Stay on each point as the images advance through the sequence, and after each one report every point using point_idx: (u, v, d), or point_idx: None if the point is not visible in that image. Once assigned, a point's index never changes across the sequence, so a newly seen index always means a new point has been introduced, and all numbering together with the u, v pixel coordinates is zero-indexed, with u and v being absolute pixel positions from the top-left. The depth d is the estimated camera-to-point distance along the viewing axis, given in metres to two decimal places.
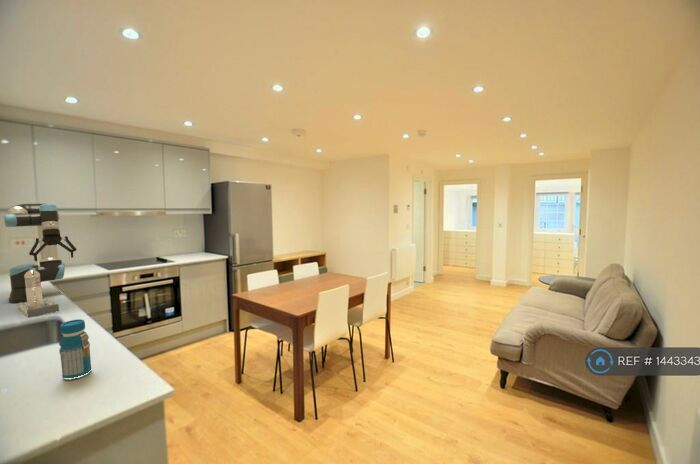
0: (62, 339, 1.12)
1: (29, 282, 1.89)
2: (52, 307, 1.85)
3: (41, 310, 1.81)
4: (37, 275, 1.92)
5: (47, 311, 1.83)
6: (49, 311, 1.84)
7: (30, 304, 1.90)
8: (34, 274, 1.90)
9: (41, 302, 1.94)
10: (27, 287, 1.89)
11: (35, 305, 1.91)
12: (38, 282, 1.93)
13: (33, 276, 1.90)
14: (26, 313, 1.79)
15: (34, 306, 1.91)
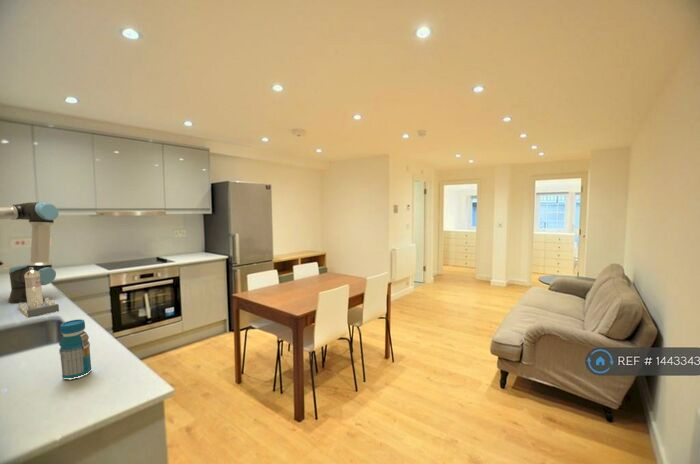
0: (62, 339, 1.12)
1: (29, 282, 1.89)
2: (52, 307, 1.85)
3: (41, 310, 1.81)
4: (37, 275, 1.92)
5: (47, 311, 1.83)
6: (49, 311, 1.84)
7: (30, 304, 1.90)
8: (34, 274, 1.90)
9: (41, 302, 1.94)
10: (27, 287, 1.89)
11: (35, 305, 1.91)
12: (38, 282, 1.93)
13: (33, 276, 1.90)
14: (26, 313, 1.79)
15: (34, 306, 1.91)
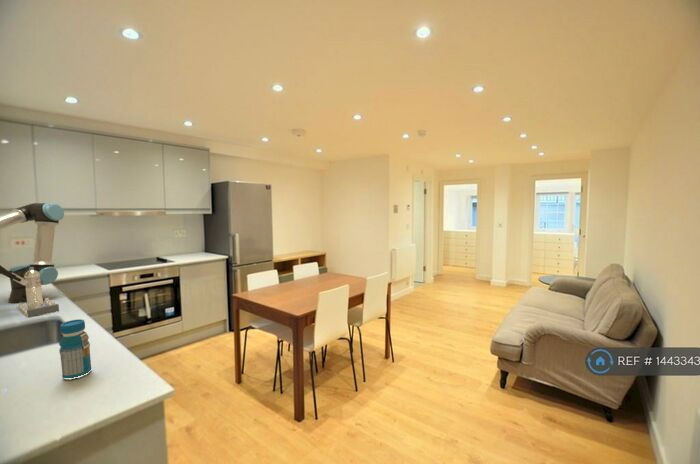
0: (62, 339, 1.12)
1: (29, 282, 1.89)
2: (52, 307, 1.85)
3: (41, 310, 1.81)
4: (37, 275, 1.92)
5: (47, 311, 1.83)
6: (49, 311, 1.84)
7: (30, 304, 1.90)
8: (34, 274, 1.90)
9: (41, 302, 1.94)
10: (27, 287, 1.89)
11: (35, 305, 1.91)
12: (38, 282, 1.93)
13: (33, 276, 1.90)
14: (26, 313, 1.79)
15: (34, 306, 1.91)
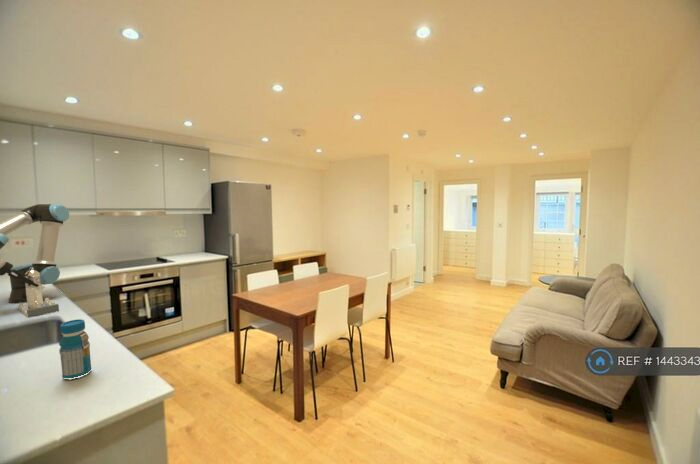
0: (62, 339, 1.12)
1: None
2: (52, 307, 1.85)
3: (41, 310, 1.81)
4: (37, 275, 1.92)
5: (47, 311, 1.83)
6: (49, 311, 1.84)
7: (30, 304, 1.90)
8: (34, 274, 1.90)
9: (41, 302, 1.94)
10: (27, 287, 1.89)
11: (35, 305, 1.91)
12: (38, 282, 1.93)
13: (33, 276, 1.90)
14: (26, 313, 1.79)
15: (34, 306, 1.91)
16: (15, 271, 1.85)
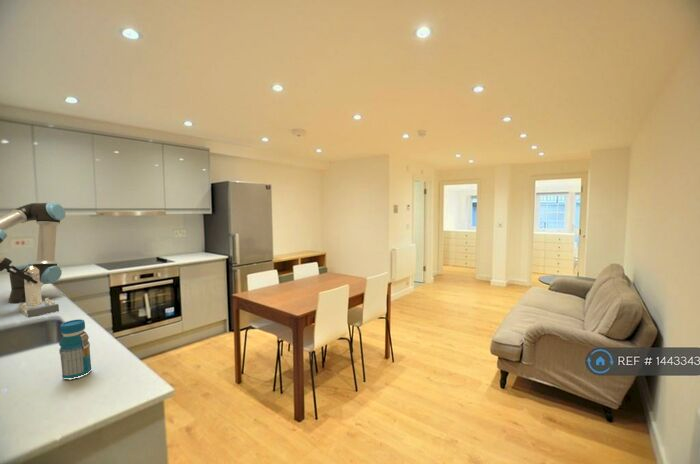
0: (62, 339, 1.12)
1: None
2: (52, 307, 1.85)
3: (41, 310, 1.81)
4: (36, 271, 1.88)
5: (47, 311, 1.83)
6: (49, 311, 1.84)
7: (29, 301, 1.86)
8: (33, 271, 1.87)
9: (40, 299, 1.90)
10: (26, 284, 1.86)
11: (34, 302, 1.87)
12: (37, 279, 1.89)
13: (32, 273, 1.86)
14: (26, 313, 1.79)
15: (32, 303, 1.87)
16: (14, 267, 1.81)
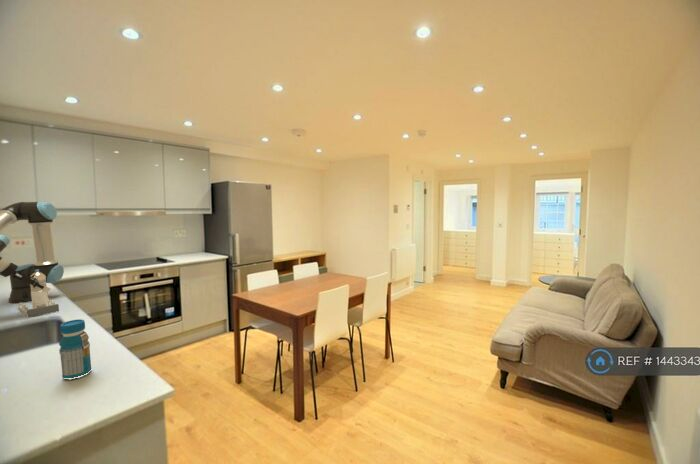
0: (62, 339, 1.12)
1: None
2: (52, 307, 1.85)
3: (41, 310, 1.81)
4: (43, 278, 1.84)
5: (47, 311, 1.83)
6: (49, 311, 1.84)
7: None
8: (40, 277, 1.82)
9: None
10: (32, 290, 1.81)
11: None
12: None
13: (38, 279, 1.82)
14: (26, 313, 1.79)
15: None
16: (20, 272, 1.77)
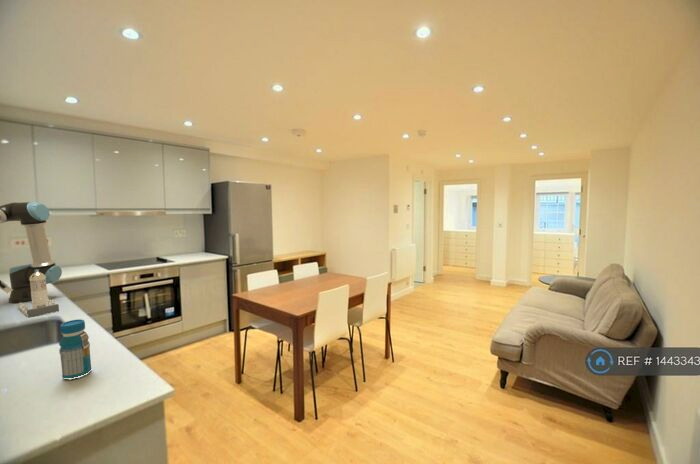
0: (62, 339, 1.12)
1: (35, 285, 1.81)
2: (52, 307, 1.85)
3: (41, 310, 1.81)
4: (43, 278, 1.84)
5: (47, 311, 1.83)
6: (49, 311, 1.84)
7: None
8: (40, 277, 1.82)
9: None
10: (32, 290, 1.81)
11: None
12: (44, 285, 1.84)
13: (38, 279, 1.82)
14: (26, 313, 1.79)
15: None
16: None
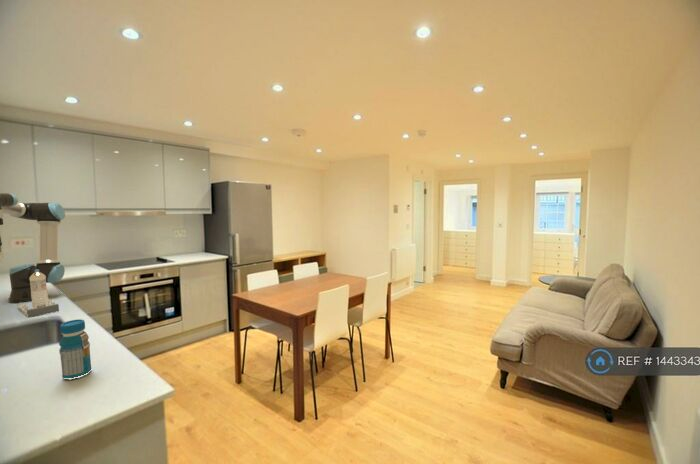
0: (62, 339, 1.12)
1: (35, 285, 1.81)
2: (52, 307, 1.85)
3: (41, 310, 1.81)
4: (43, 278, 1.84)
5: (47, 311, 1.83)
6: (49, 311, 1.84)
7: None
8: (40, 277, 1.82)
9: None
10: (32, 290, 1.81)
11: None
12: (44, 285, 1.84)
13: (38, 279, 1.82)
14: (26, 313, 1.79)
15: None
16: None
